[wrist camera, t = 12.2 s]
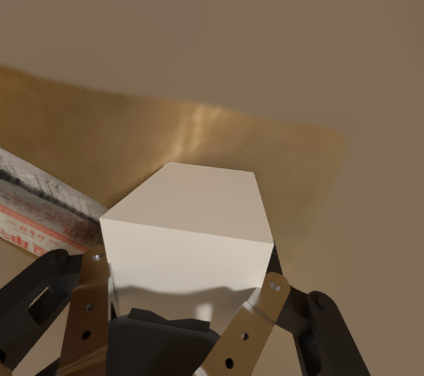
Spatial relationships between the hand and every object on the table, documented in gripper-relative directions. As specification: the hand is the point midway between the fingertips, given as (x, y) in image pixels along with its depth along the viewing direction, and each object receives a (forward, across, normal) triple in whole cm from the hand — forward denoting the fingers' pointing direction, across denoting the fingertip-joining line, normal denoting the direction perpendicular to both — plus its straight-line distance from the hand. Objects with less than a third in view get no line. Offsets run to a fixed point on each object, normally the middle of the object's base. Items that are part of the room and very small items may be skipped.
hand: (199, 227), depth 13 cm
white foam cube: (+4, 0, 0) cm, 4 cm away
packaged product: (+6, +18, +6) cm, 20 cm away
